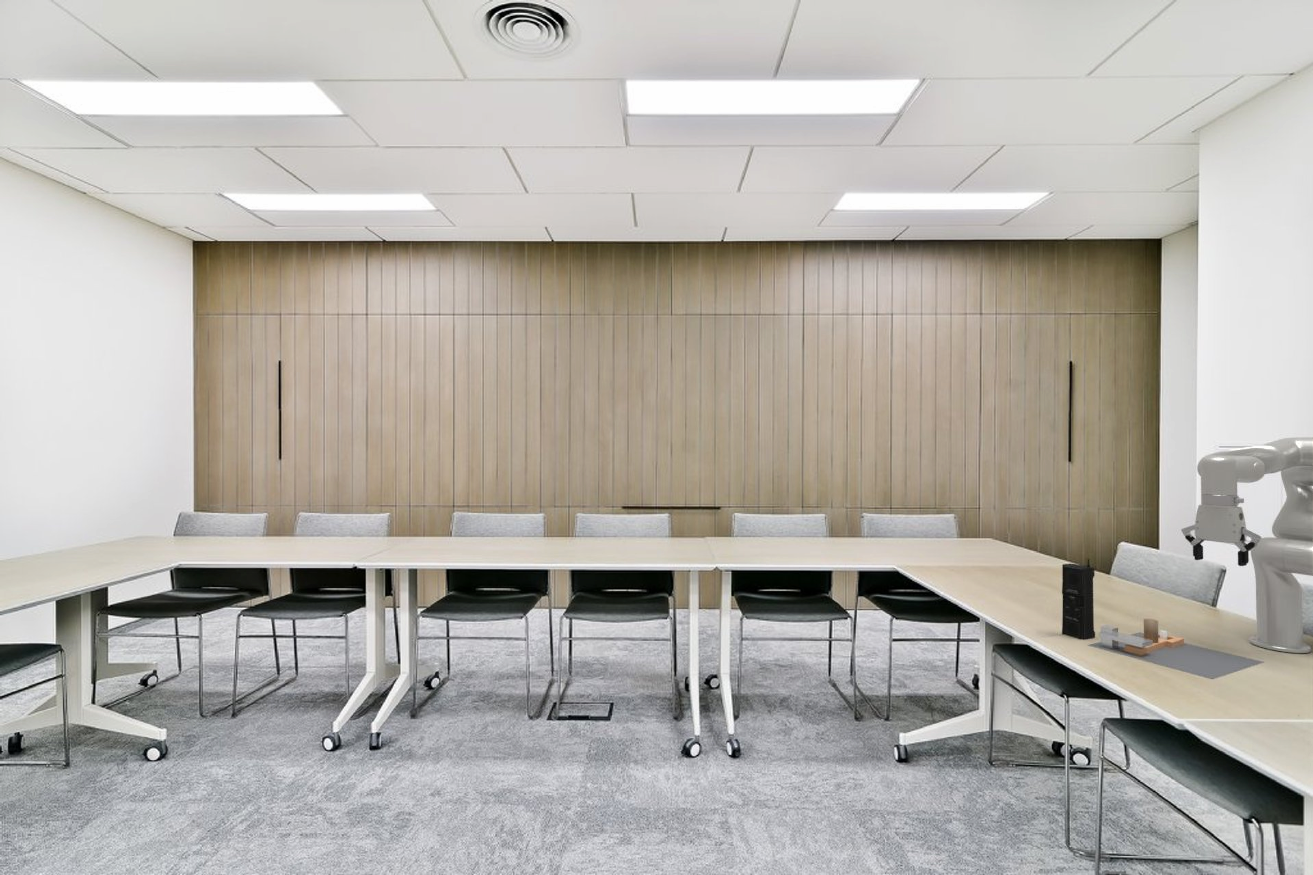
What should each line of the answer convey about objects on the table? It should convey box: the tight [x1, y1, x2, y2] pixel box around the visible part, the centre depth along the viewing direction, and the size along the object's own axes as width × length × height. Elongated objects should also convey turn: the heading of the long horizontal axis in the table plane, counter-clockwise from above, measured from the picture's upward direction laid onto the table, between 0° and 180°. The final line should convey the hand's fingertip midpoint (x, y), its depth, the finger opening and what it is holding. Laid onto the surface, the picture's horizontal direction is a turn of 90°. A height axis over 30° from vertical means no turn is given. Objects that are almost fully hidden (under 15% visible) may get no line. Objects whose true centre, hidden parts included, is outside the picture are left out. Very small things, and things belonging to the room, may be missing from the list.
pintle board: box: [1087, 629, 1264, 680], centre depth 171 cm, size 27×29×5 cm
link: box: [1125, 618, 1185, 655], centre depth 176 cm, size 22×7×8 cm, turn 119°
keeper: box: [1098, 624, 1153, 649], centre depth 173 cm, size 5×11×7 cm, turn 26°
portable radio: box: [1061, 558, 1096, 641], centre depth 187 cm, size 8×6×25 cm
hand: (1220, 562), depth 172 cm, fingers open, 9 cm apart
